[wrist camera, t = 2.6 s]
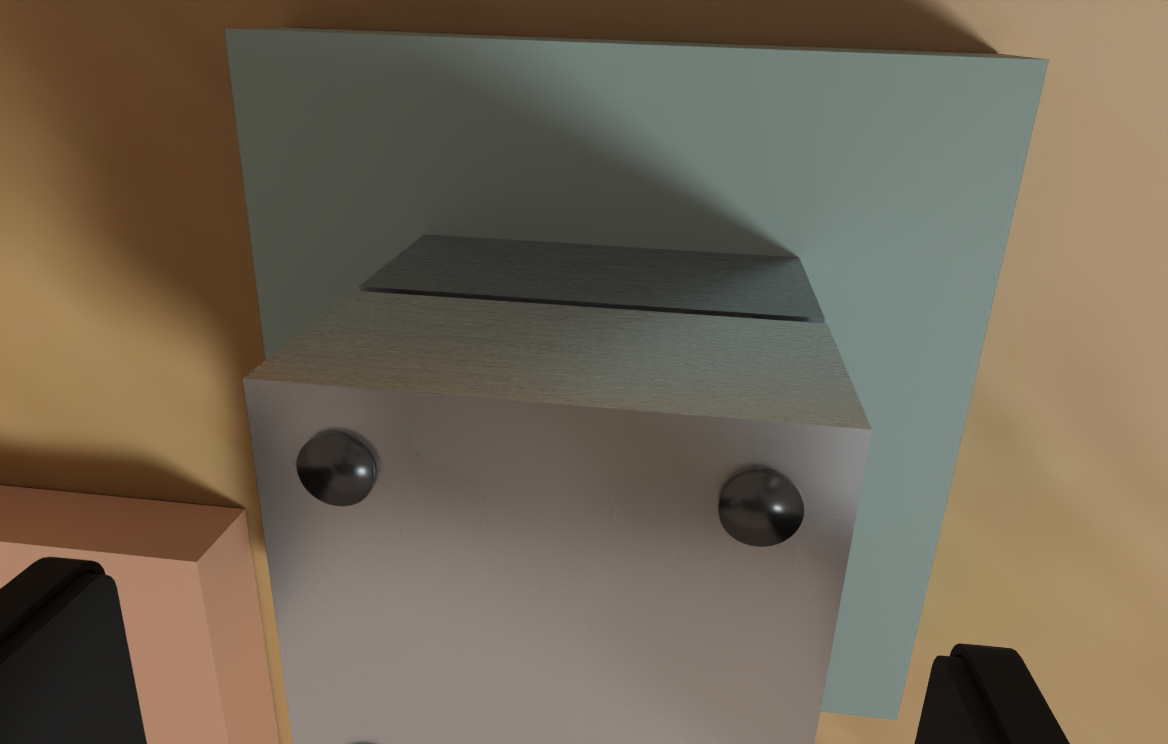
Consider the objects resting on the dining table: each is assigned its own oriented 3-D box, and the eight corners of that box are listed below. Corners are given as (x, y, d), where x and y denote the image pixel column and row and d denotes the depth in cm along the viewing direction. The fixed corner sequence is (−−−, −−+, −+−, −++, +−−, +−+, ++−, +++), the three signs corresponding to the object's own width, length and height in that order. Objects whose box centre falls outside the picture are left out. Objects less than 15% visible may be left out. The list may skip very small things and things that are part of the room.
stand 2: (282, 27, 15) (224, 28, 13) (1001, 53, 14) (1048, 59, 12) (338, 592, 19) (301, 651, 18) (876, 649, 18) (896, 720, 16)
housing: (424, 234, 14) (237, 382, 8) (799, 257, 13) (874, 435, 8) (437, 544, 16) (299, 824, 11) (756, 576, 16) (789, 891, 10)
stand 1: (-237, 461, 20) (-331, 506, 18) (245, 509, 19) (196, 562, 17) (-95, 823, 25) (-158, 887, 23) (299, 879, 24) (265, 952, 22)
